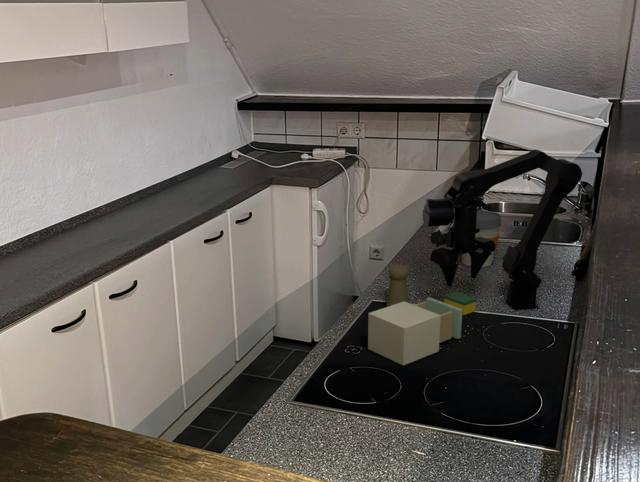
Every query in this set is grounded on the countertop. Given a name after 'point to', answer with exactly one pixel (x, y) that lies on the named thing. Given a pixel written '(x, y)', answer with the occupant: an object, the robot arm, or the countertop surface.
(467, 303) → the sponge
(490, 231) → the reusable coffee cup
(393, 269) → the olive brown pawn
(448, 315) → the drawer
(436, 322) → the beige cube
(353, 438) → the countertop surface
